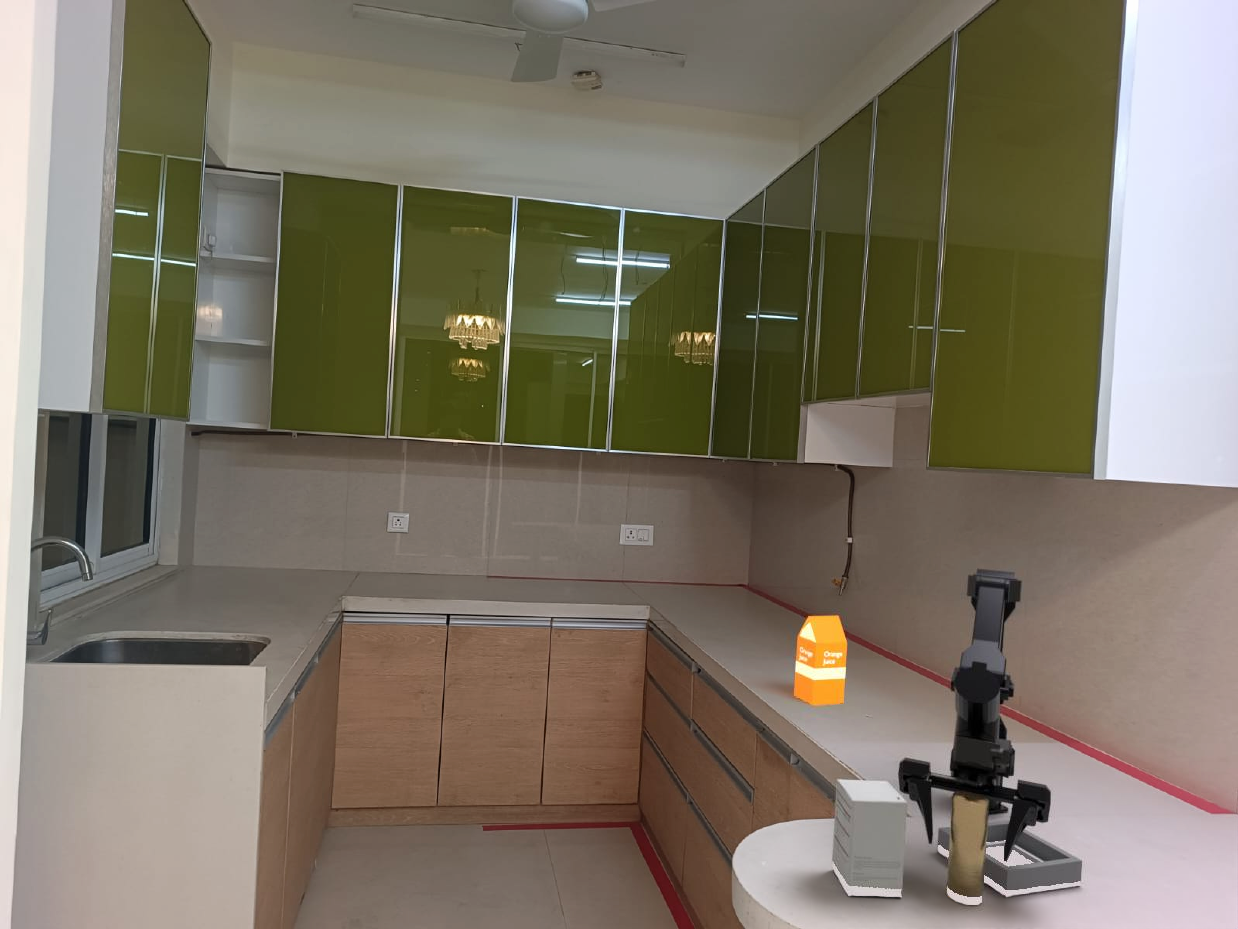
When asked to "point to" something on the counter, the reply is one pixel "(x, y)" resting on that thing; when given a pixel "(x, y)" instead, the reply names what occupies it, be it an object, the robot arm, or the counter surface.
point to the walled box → (1047, 858)
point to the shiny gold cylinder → (967, 843)
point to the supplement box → (869, 833)
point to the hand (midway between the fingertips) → (967, 851)
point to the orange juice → (821, 661)
